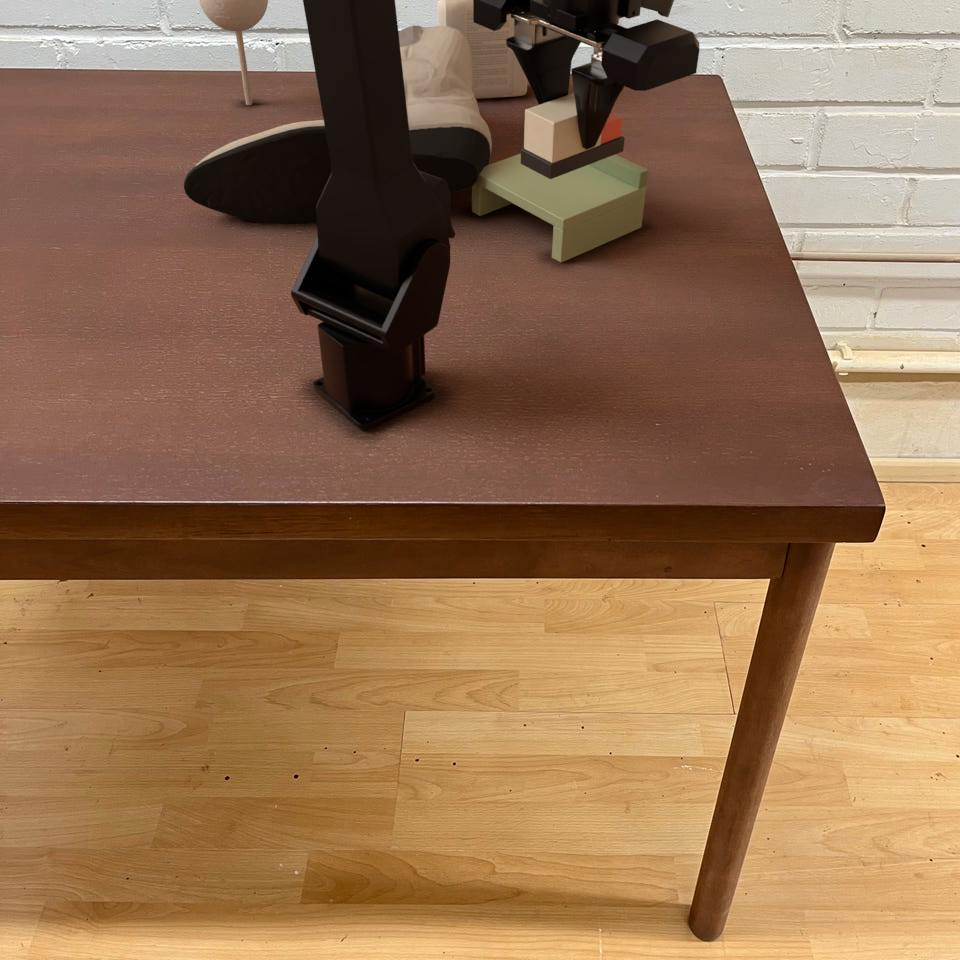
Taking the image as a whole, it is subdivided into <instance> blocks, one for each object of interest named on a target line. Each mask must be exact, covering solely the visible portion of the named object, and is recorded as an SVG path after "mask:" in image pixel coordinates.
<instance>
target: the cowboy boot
mask: <svg viewBox="0 0 960 960" xmlns="http://www.w3.org/2000/svg"><path fill="white" fill-rule="evenodd" d="M398 33H399V42H400V51H401V60H402V69H403V78H404V88H405V97H406V106H407V115H408V124H409V133H410V142H411V151H412V158H413V162H414V164H415V166H416V167H417V169H418V170H419V171H420V172H423V173H426V174H429V175H432V176H435V177H438V178H441V179H444V180H445V181H446V183H447V185H448V188H449V191H450V194H451V193H458V192H462V191H465V190H468V189H470V188H472V186H473V185H474V183H475V182H476V181H477V179H478V177H479V174H480V173H481V171H482V170H483V168H484V167H485V166H487V165H490V159H491V155H492V150H493V140H492V134H491V130H490V128H489V125H488V124H487V122H486V121H485V119H484V118H483V117H482V115H481V113H480V108H479V105H478V100H477V99H475V97H474V94H473V78H472V57H471V50H470V45H469V42H468V40H467V39H466V37H465V36H464V35H463V34H462V33H461V32H460V31H459V30H457V29H455V28H452V27H448V26H438V25H437V26H422V25H411V26H408V27H405V28H402V29H401V30H398ZM331 172H332V165H331V159H330V153H329V147H328V142H327V136H326V130H325V124H324V119H317V120H306V121H305V120H304V121H297V122H291V123H287V124H282V125H279V126H277V127H273V128H270V129H267V130H264V131H261V132H258V133H255V134H252V135H249V136H245V137H242V138H239V139H237V140H234V141H231V142H229V143H227V144H225V145H223V146H221V147H219V148H217V149H215V150H214V151H212V152H210V153H208V154H207V155H206V156H205V157H203V158H202V159H201V160H200V161H199V162H198V163H196V164H195V165H194V166H193V167H192V168H191V169H190V170H189V171H188V173H187V174H186V176H185V178H184V181H183V189H184V191H185V192H184V194H186V196H187V197H188V198H189V200H190V201H193V202H194V203H195V204H198V205H200V206H203V207H205V208H207V209H210V210H213V211H216V212H219V213H222V214H225V215H228V216H232V217H235V218H237V219H238V218H239V219H243V220H246V221H250V222H255V223H259V224H270V225H271V224H275V225H276V224H277V225H307V224H308V225H309V224H317V214H316V205H317V203H318V200H319V198H320V196H321V194H322V192H323V190H324V187H325V185H326V183H327V181H328V179H329V177H330V174H331Z"/></svg>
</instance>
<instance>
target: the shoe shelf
mask: <svg viewBox="0 0 960 960" xmlns="http://www.w3.org/2000/svg"><path fill="white" fill-rule="evenodd" d="M649 172H650V171H649V169H647V168H646V167H643V166H641V165H639V164H638V163H635V162H632V161H630V160H628V159H626V158H624V157H622V156H621V155H618V154H615V155H612V156H610V157H607V158H605V159H602V160H599V161H597V162H594V163H592V164H589V165H587V166H584V167H581V168H579V169H576V170H574V171H571V172H568V173H566V174H563V175H561V176H558V177H555V178H553V179H549V178H547V177H545V176H543V175H541V174H539V173H537V172H536V171H534V170H532V169H530V168H528V167H526V166H524V165H522V164H521V153H518V154H515V155H512V156H510V157H506V158H504V159H501V160H498V161H496V162H495V161H494V162H493V163H489V164H488V165H487V166H485V167H484V168H483V170H482V171H481V173H480V174H479V177H478V179H477V181H476V182H475V183H474V185H473V186H471V212H472V213H474V214H475V215H477V216H479V217H482V216H484V215H487V214H489V213H492V212H494V211H497V210H500V209H502V208H505V207H507V206H509V205H510V206H511V205H512V204H513V205H515V206H517V207H519V208H521V209H522V210H524V211H526V212H527V213H530V214H532V215H534V216H536V217H537V218H539V219H541V220H542V221H544V222H546V223H548V224H550V225H552V227H553V228H552V243H551V244H552V245H551V258H552V259H554V260H555V261H557V262H558V263H564V262H566V261H568V260H570V259H573V258H575V257H577V256H580V255H582V254H584V253H586V252H589V251H591V250H593V249H596V248H598V247H601V246H602V245H605V244H608V243H609V242H611V241H613V240H617V239H619V238H621V237H624V236H625V235H627V234H630V233H632V232H634V231H638V230H639V229H641V228H642V226H643V219H644V210H645V202H646V193H647V184H648V177H649Z"/></svg>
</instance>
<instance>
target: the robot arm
mask: <svg viewBox="0 0 960 960" xmlns="http://www.w3.org/2000/svg"><path fill="white" fill-rule="evenodd" d="M674 2H675V0H473V22H474V23H476V24H479V25H481V26H483V27H486V28H488V29H490V30H493V31H496V30H500V29H501V28H502V27H503V25H504V24H505V23H506V22H507V15H508V14H511V18H513V19H514V36H513V37H510V38H507V39H506V45H507V47H508V48H510V49H512V50H513V52H514V54H515V56H516V58H517V60H518V62H519V64H520V66H521V68H522V70H523V72H524V74H525V76H526V78H527V83H528V84H529V86H530V88H531V91H532V92H533V94H534V97H535V99H536V102H537V104H538V105H540V104H543V103H546V102H549V101H552V100H555V99H558V98H561V97H564V96H567V95H569V94H570V83H571V82H570V81H571V80H572V88H573V89H572V90H573V93H574V96H575V104H576V112H577V120H578V128H579V134H580V138H581V143H582V147H583V148H584V149H590V148H592V147H594V146H595V145H596V143H597V141H598V139H599V137H600V135H601V132H602V130H603V128H604V126H605V124H606V122H607V119H608V117H609V115H610V113H612V111H613V108H614V107H615V104H616V102H617V100H618V98H619V96H620V95H621V93H622V92H623V90H624V89H625V87H626V88H627V89H630V90H632V91H642V92H647V91H650V90H653V89H655V88H659V87H662V86H664V85H666V84H669V83H673V82H675V81H678V80H680V79H685V78H686V77H689V76H692V75H693V76H694V75H695V74H697V72H698V71H697V69H698V63H699V56H700V42H699V40H698V38H697V37H696V35H695V34H694V32H693V31H691V30H688V29H685V28H683V27H680V26H676V25H674V24H671V23H669V22H666V21H663V20H661V19H653V20H650V21H646V22H644V23H640V24H637V25H634V26H630V27H624V26H622V25H619V24H620V19H622V18H625V19H633V18H636V17H639V16H640V15H641V10H642V8H643V9H646V10H649V11H654V12H657V14H658V15H660V16H661V17H664V18H669V17H670V14H671V11H672V8H673V5H674ZM302 4H303V9H304V15H305V21H306V26H307V31H308V37H309V43H310V49H311V56H312V61H313V66H314V72H315V79H316V83H317V89H318V95H319V101H320V107H321V113H322V118H323V119H322V120H324V124H325V130H326V136H327V142H328V147H329V153H330V159H331V165H332V172H331V174H330V177H329V179H328V181H327V183H326V185H325V187H324V190H323V192H322V194H321V196H320V198H319V200H318V203H317V205H316V214H317V223H316V230H317V232H316V233H317V236H316V238H315V240H314V241H313V244H312V246H311V247H310V251H309V253H308V255H307V257H306V259H305V261H304V263H303V265H302V267H301V269H300V272H299V274H298V276H297V279H296V280H295V282H294V284H293V286H292V289H291V290H290V291H291V292H290V296H291V298H292V300H293V302H294V304H295V306H296V308H297V310H298V311H299V313H300V314H302V315H304V316H310V317H312V318H314V319H316V320H319V321H320V322H319V323H318V324H317V333H318V341H319V342H318V343H319V350H320V351H319V352H320V359H321V367H322V368H321V369H322V376H323V377H321V378H320V377H319V378H318V379H316V380H314V381H313V382H312V385H313V386H312V388H313V391H314V392H316V393H317V394H318V395H319V396H320V397H321V398H323V399H324V400H325V401H326V402H328V404H330V405H331V406H332V407H333V408H334V409H335V410H337V411H338V412H339V413H340V414H341V415H342V416H344V417H345V418H346V419H347V420H348V421H349V422H351V423H352V424H353V425H354V426H355V427H357V428H358V429H359V430H362V431H367V430H370V429H373V428H374V427H376V426H378V425H380V424H382V423H385V422H386V421H389V420H390V419H392V418H394V417H397V416H398V415H400V414H403V413H404V412H407V411H409V410H410V409H413V408H415V407H417V406H419V405H421V404H423V403H425V402H427V401H429V400H431V399H433V398H434V397H436V388H435V387H434V386H433V385H431V384H430V383H429V382H427V381H426V380H425V379H423V377H425V375H426V371H427V370H426V347H425V346H426V345H425V344H426V343H425V342H426V341H425V335H426V334H428V333H429V332H431V331H432V330H434V329H435V328H436V327H438V324H439V320H440V316H441V311H442V307H443V301H444V298H445V293H446V287H447V284H448V283H447V282H448V277H449V274H450V268H451V243H450V239H455V237H456V232H455V230H454V227H453V225H452V220H451V193H450V191H449V188H448V185H447V183H446V181H445V180H444V179H441V178H438V177H435V176H432V175H429V174H426V173H423V172H420V171H419V170H418V169H417V167H416V166H415V164H414V162H413V158H412V151H411V142H410V133H409V124H408V115H407V106H406V97H405V88H404V78H403V69H402V60H401V51H400V42H399V33H398V32H399V25H398V24H399V23H398V16H397V6H396V0H302ZM581 43H582V44H585V45H588V46H590V47H592V48H593V54H591V55H590V56H591V57H590V62H587V63H585V64H582V65H578V66H576V67H572V61H573V59H574V56H575V54H576V52H577V50H578V49H579V47H580V45H581Z"/></svg>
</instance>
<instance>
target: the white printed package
mask: <svg viewBox="0 0 960 960" xmlns="http://www.w3.org/2000/svg"><path fill="white" fill-rule="evenodd" d="M436 6H437V10H436V11H437V13H436V14H437V15H436V16H437V26H448V27H452V28H455V29H457V30H459V31H460V32H461V33H462V34H463V35H464V36H465V37H466V39H467V40H468V42H469V45H470V50H471V57H472V78H473V94H474V97H475V99H476V100H477V99H478V100H479V99H492V98H493V99H494V98H508V97H509V98H511V97H521V96H523V97H524V96H525V95H526V94H527V92H528V80H527V78H526V76H525V74H524V72H523V70H522V68H521V66H520V64H519V62H518V60H517V58H516V56H515V54H514V52H513V50H512V49H510V48H508V47H507V45H506V39H507V38H510V37H513V36H514V19H513V18H511V14H508V15H507V22H506V23H505V24H504V25H503V27H502V28H501V29H500V30H496V31H493V30H490V29H488V28H486V27H483V26H481V25H479V24H476V23H474V22H473V0H438V1H437V5H436Z"/></svg>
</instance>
